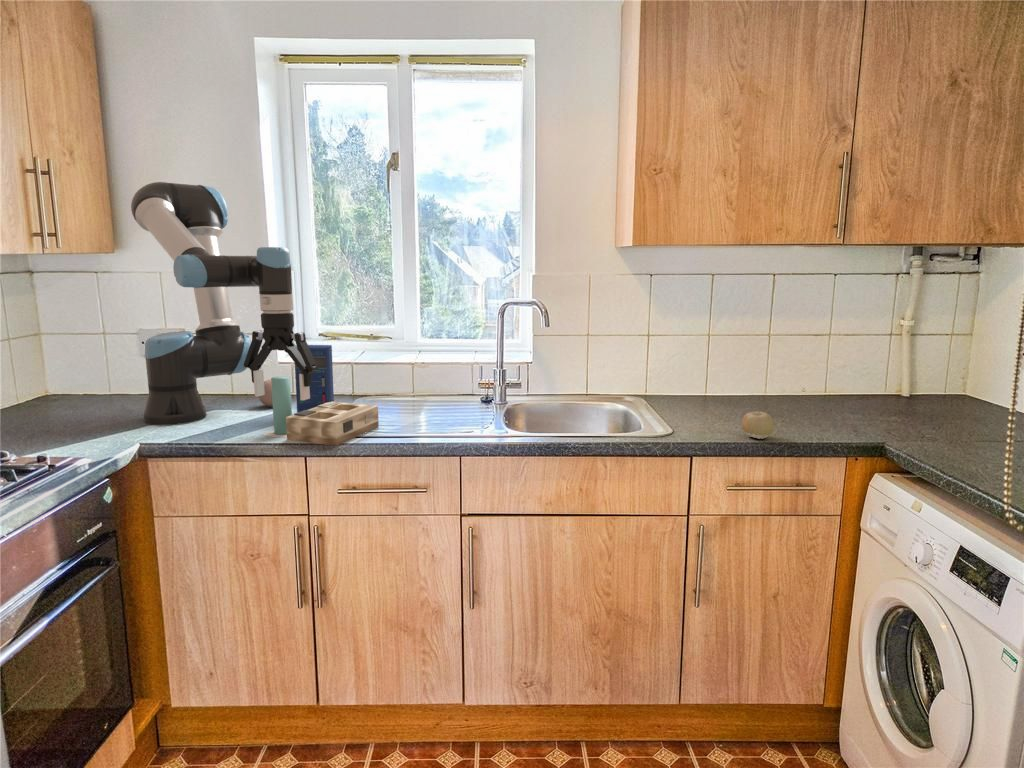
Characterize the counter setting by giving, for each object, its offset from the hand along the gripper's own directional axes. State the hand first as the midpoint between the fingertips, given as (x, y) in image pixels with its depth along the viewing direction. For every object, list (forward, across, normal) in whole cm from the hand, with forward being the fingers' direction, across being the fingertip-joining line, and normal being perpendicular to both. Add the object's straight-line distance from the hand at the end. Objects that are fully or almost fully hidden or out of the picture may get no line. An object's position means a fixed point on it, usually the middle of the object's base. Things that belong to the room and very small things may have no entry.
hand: (282, 397), depth 160 cm
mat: (+9, 0, 0) cm, 9 cm away
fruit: (+11, +112, +42) cm, 121 cm away
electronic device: (+10, -4, +19) cm, 22 cm away
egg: (+9, -24, +24) cm, 35 cm away
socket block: (+10, +12, +5) cm, 16 cm away
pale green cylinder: (+9, 0, 0) cm, 9 cm away
